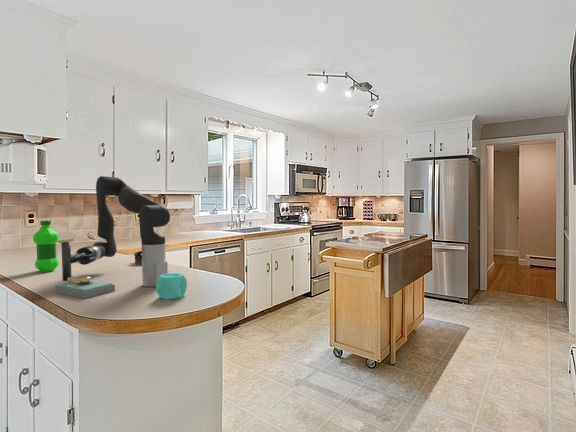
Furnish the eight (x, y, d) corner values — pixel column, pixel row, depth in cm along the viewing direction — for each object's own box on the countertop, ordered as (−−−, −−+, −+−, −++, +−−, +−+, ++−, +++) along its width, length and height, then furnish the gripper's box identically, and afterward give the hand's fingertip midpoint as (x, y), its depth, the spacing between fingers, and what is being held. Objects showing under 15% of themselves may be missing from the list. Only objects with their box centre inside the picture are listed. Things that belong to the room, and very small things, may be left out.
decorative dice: (176, 300, 122) (176, 278, 122) (156, 299, 123) (155, 277, 123) (187, 294, 130) (186, 273, 130) (167, 293, 131) (167, 272, 131)
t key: (95, 281, 136) (94, 239, 135) (82, 284, 130) (81, 241, 129) (70, 279, 139) (69, 238, 138) (57, 282, 133) (55, 240, 132)
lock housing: (115, 290, 135) (114, 282, 135) (85, 298, 124) (84, 289, 124) (85, 285, 143) (85, 277, 143) (55, 292, 132) (55, 284, 132)
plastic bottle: (29, 272, 169) (27, 221, 168) (49, 268, 179) (48, 220, 178) (44, 273, 166) (42, 221, 165) (64, 269, 176) (62, 220, 175)
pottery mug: (156, 263, 196) (154, 251, 191) (143, 273, 189) (140, 261, 184) (141, 256, 200) (138, 245, 196) (128, 266, 193) (124, 254, 189)
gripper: (72, 246, 153) (49, 252, 136) (103, 246, 155) (85, 251, 138) (73, 263, 154) (50, 271, 137) (104, 262, 155) (85, 270, 138)
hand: (68, 261), depth 137 cm, fingers closed
